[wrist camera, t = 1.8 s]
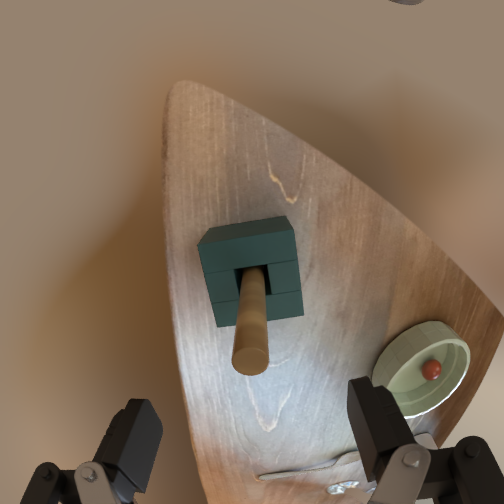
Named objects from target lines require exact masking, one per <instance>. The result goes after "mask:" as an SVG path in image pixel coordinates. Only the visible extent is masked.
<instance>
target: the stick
mask: <svg viewBox="0 0 504 504" xmlns="http://www.w3.org/2000/svg"><path fill="white" fill-rule="evenodd" d="M232 365H233V367H234V369H235V370H236V371H238V372H239V373H241V374H243V375H248V376H253V375H258V374H260V373H262V372H264V371H265V370H266V369H267V367H268V365H269V348H268V331H267V314H266V298H265V282H264V267H263V265H257V266H251V267H244V268H243V274H242V281H241V289H240V297H239V305H238V313H237V320H236V328H235V336H234V344H233V352H232Z"/></svg>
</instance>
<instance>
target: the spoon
mask: <svg viewBox="0 0 504 504" xmlns="http://www.w3.org/2000/svg"><path fill="white" fill-rule="evenodd" d="M358 460H361V457H360V454H359V451H355V452H350V453H346V454H344V455H342V456H341V457H340V458H338V460H337V461H336V462H335V463H334V464H333V465H332V466H329V467H324V468H318V469H313V470H304V471H292V472H282V473H274V474H265V475H262V476H260V477H259V479H263V480H267V479H274V478H281V477H287V476H293V475H299V474H305V473H310V472H315V471H320V470H326V469H332V468H335V467H339V466H342V465H346V464H349V463H352V462H355V461H358Z"/></svg>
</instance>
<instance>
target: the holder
mask: <svg viewBox="0 0 504 504" xmlns="http://www.w3.org/2000/svg"><path fill="white" fill-rule="evenodd" d="M197 246H198V251H199V255H200V260H201V264H202V268H203V272H204V277H205V281H206V285H207V289H208V293H209V297H210V301H211V305H212V309H213V313H214V317H215V320H216V324H217V327H226V326H234V325H236V320H237V313H238V305H239V297H240V289H241V281H242V274H243V271H242V268H244V267H251V266H257V265H264V264H267V268H268V269H267V270H264V282H265V298H266V314H267V321H271V320H278V319H284V318H290V317H297V316H303V315H304V309H303V300H302V291H301V282H300V274H299V265H298V257H297V249H296V242H295V234H294V229H293V227H292V226H291V224H290V222H289V220H288V219H287V217H286V216H281V217H275V218H268V219H262V220H256V221H250V222H244V223H238V224H232V225H226V226H220V227H214V228H209V230H208V231H207V232H206V234H205V235H204V236H203V238H202V239H201V240H200V242H199V243H198V245H197Z"/></svg>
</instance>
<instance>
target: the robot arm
mask: <svg viewBox="0 0 504 504" xmlns="http://www.w3.org/2000/svg"><path fill="white" fill-rule="evenodd" d="M347 413H348V418H349V421H350V424H351V428H352V431H353V434H354V437H355V440H356V444H357V447H358V450H359V454H360V457H361V460H362V464H363V467H364V470H365V474H366V477H367V481H368V482H372V481H375V480H376V482H377V487H376V489H375V490H374V492H373V494H372V496H371V498H370V500H369V501H368V503H367V504H415V501H416V500H419V499H427V498H432V499H433V502H434V504H504V476H503V474H502V472H501V470H500V468H499V466H498V464H497V462H496V460H495V458H494V456H493V454H492V452H491V450H490V448H489V446H488V444H487V443H486V441H485V440H484V439H482V438H480V437H477V436H468V437H465V438H463V439H461V440H460V441H459V442H458V443H457V445H456V446H455V447H450V448H443V449H427V448H425V447H424V446H422V445H419V444H418V443H417V442H416V440H415V438H414V436H413V434H412V432H411V430H410V428H409V426H408V424H407V422H406V420H405V418H404V416H403V414H402V412H401V411H400V408H399V406H398V404H397V403H396V400H395V398H394V396H393V394H392V392H391V391H389V390H388V389H387V388H385V387H384V386H383V385H380V386H377V387H373V385H372V383H371V381H370V379H369V377H368V376H364V377H360V378H356V379H352V380H349V381H348V395H347ZM162 434H163V426H162V423H161V420H160V419H159V417H158V415H157V413H156V412H155V410H154V408H153V406H152V405H151V402H150V401H149V400H148V399H130V400H129V401H128V404H127V405H126V407H125V409H121V410H120V411H119V412H118V413H117V414H116V415H115V416H114V417H113V419H112V421H111V423H110V425H109V428H108V429H107V431H106V435H104V437H103V439H102V441H101V444H100V446H99V448H98V450H97V452H96V454H95V456H94V458H93V460H92V461H88V462H85V463H82V464H81V465H80V466H79V467H78V468H77V469H76V470H60V469H59V468H58V467H57V466H56V465H55V464H54V463H51V462H45V463H42V464H40V465H39V466H38V467H37V468H36V470H35V472H34V474H33V476H32V478H31V480H30V482H29V484H28V487H27V489H26V491H25V493H24V495H23V498H22V500H21V502H20V504H58V502H61V503H62V504H137V502H136V500H135V498H134V497H133V496H134V493H135V492H139V493H145V491H146V488H147V484H148V481H149V478H150V474H151V471H152V467H153V464H154V461H155V457H156V454H157V451H158V448H159V444H160V441H161V438H162Z"/></svg>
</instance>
